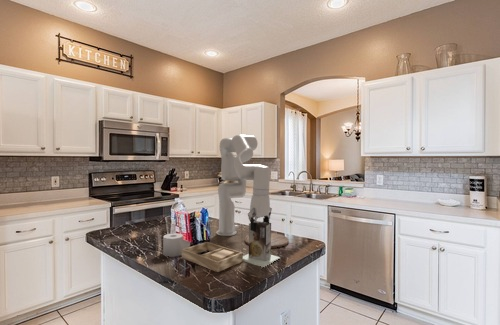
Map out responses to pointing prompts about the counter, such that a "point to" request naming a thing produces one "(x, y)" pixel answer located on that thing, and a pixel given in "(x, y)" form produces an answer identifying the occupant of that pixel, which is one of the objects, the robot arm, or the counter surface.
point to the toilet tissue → (174, 244)
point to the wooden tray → (205, 260)
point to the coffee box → (260, 241)
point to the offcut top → (221, 255)
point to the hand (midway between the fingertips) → (259, 228)
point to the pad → (260, 262)
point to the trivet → (274, 240)
